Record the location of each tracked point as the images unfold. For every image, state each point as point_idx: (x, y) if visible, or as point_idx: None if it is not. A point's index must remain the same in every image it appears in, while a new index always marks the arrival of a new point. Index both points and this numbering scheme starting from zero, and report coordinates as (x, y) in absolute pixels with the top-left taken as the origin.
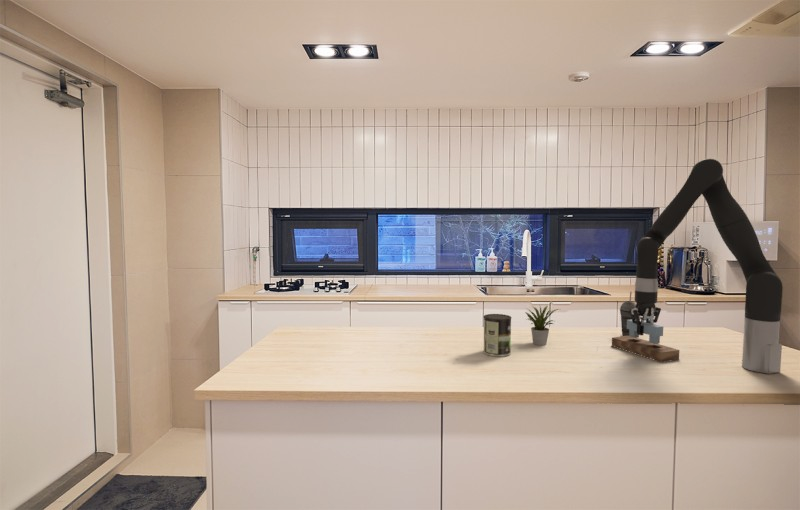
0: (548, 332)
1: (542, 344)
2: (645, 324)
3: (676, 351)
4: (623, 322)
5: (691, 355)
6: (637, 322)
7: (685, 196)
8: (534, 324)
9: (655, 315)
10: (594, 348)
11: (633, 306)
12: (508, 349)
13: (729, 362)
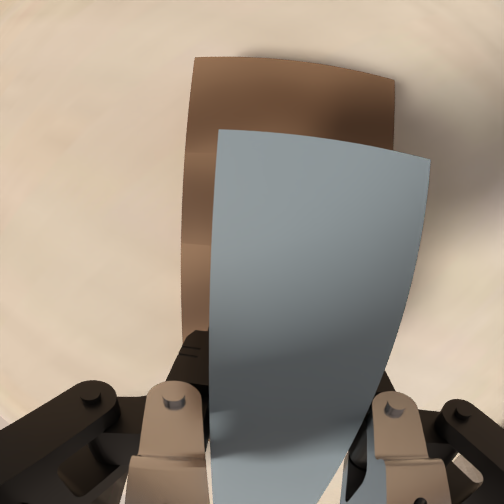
0: (479, 474)
1: None
2: (373, 390)
3: (228, 60)
4: (119, 497)
5: (73, 122)
6: (484, 415)
7: None
8: None
9: (47, 473)
10: (416, 404)
11: None
12: None
13: (55, 10)
